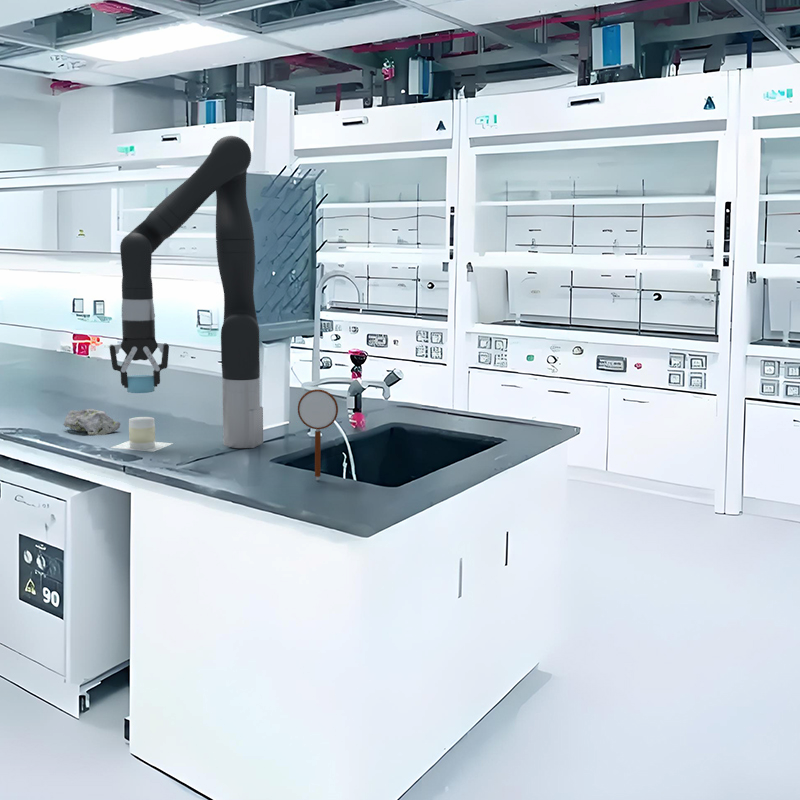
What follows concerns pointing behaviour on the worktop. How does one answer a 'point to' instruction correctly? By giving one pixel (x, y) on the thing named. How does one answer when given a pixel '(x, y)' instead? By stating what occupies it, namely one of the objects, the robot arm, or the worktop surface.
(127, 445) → the mat
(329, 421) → the magnifying glass
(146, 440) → the jar
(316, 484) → the worktop surface
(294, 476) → the worktop surface
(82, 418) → the mineral specimen
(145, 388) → the cap
